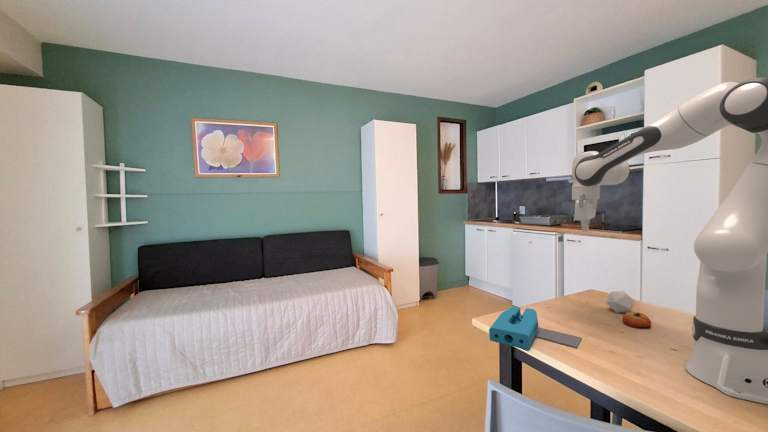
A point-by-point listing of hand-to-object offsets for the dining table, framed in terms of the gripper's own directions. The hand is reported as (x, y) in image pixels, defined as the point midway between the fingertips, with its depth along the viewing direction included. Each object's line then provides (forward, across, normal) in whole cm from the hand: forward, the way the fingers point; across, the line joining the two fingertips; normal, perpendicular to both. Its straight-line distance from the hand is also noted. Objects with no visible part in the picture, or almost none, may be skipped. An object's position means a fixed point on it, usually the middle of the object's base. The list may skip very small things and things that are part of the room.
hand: (585, 231), depth 116 cm
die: (+33, +14, -10) cm, 37 cm away
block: (+29, -22, +15) cm, 40 cm away
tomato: (+33, +2, -15) cm, 37 cm away
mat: (+33, -28, +7) cm, 44 cm away
